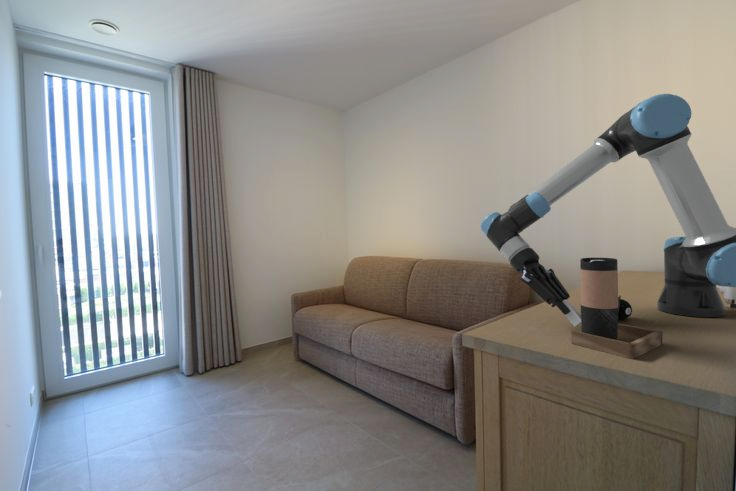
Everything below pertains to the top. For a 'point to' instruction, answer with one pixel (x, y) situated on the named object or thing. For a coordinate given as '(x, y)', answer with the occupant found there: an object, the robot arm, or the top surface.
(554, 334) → the top surface
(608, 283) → the travel mug
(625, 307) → the billiard ball
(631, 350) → the shallow wooden tray
